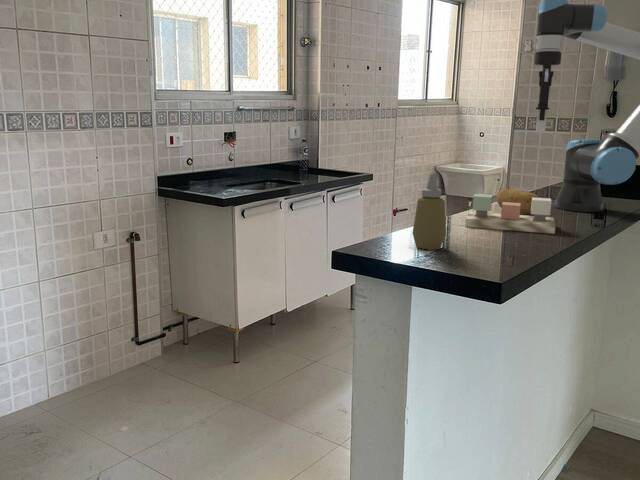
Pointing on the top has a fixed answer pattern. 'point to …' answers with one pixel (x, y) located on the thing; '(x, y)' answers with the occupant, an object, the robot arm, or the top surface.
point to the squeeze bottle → (430, 217)
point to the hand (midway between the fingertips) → (540, 131)
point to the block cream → (540, 208)
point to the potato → (517, 199)
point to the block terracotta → (510, 210)
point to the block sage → (482, 204)
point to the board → (510, 223)
